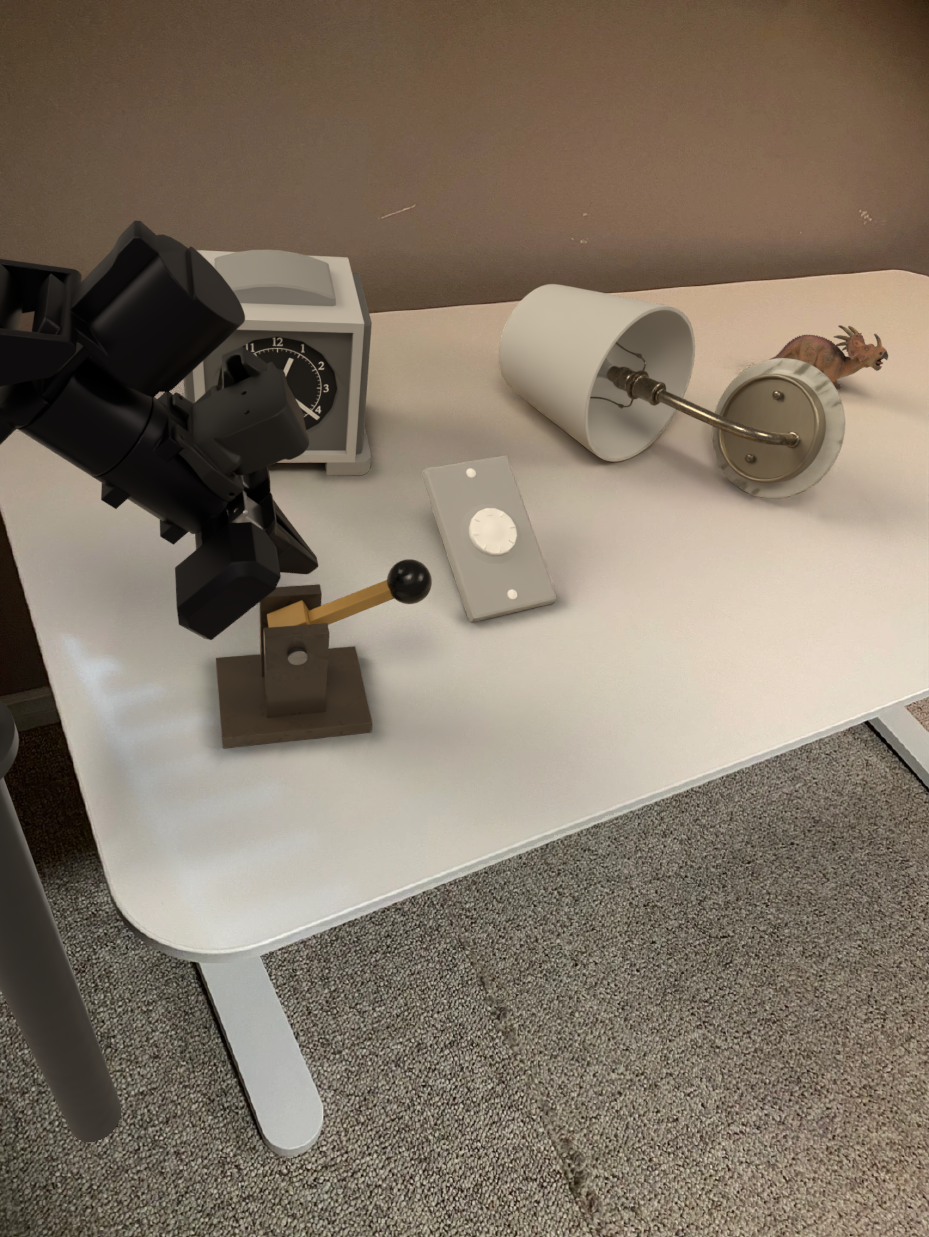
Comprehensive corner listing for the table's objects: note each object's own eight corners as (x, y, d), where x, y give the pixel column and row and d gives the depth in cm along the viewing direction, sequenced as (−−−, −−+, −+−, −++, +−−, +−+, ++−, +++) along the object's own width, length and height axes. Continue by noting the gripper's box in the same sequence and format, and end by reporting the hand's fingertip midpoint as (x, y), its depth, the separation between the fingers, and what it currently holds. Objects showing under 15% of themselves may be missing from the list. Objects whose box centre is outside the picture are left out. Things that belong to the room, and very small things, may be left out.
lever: (432, 572, 68) (418, 543, 66) (442, 603, 66) (427, 574, 64) (282, 632, 69) (263, 605, 67) (287, 664, 67) (267, 637, 64)
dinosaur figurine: (859, 389, 121) (891, 324, 115) (861, 412, 117) (895, 345, 111) (756, 363, 123) (782, 297, 116) (754, 384, 119) (781, 317, 112)
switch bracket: (354, 655, 76) (361, 567, 69) (371, 732, 71) (380, 644, 64) (216, 667, 73) (209, 576, 67) (222, 748, 68) (215, 658, 61)
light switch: (477, 616, 79) (426, 463, 82) (455, 635, 84) (408, 491, 87) (562, 596, 82) (511, 449, 85) (536, 615, 88) (489, 477, 91)
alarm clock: (181, 476, 90) (165, 296, 77) (183, 401, 99) (168, 229, 86) (371, 475, 94) (385, 304, 81) (356, 403, 103) (366, 239, 90)
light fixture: (709, 542, 84) (465, 407, 103) (802, 531, 97) (570, 413, 117) (788, 360, 77) (510, 252, 96) (877, 375, 90) (617, 277, 110)
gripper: (230, 442, 44) (433, 594, 54) (208, 263, 56) (377, 415, 67) (77, 577, 47) (297, 695, 58) (89, 380, 60) (267, 507, 70)
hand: (313, 566), depth 63 cm, fingers closed
